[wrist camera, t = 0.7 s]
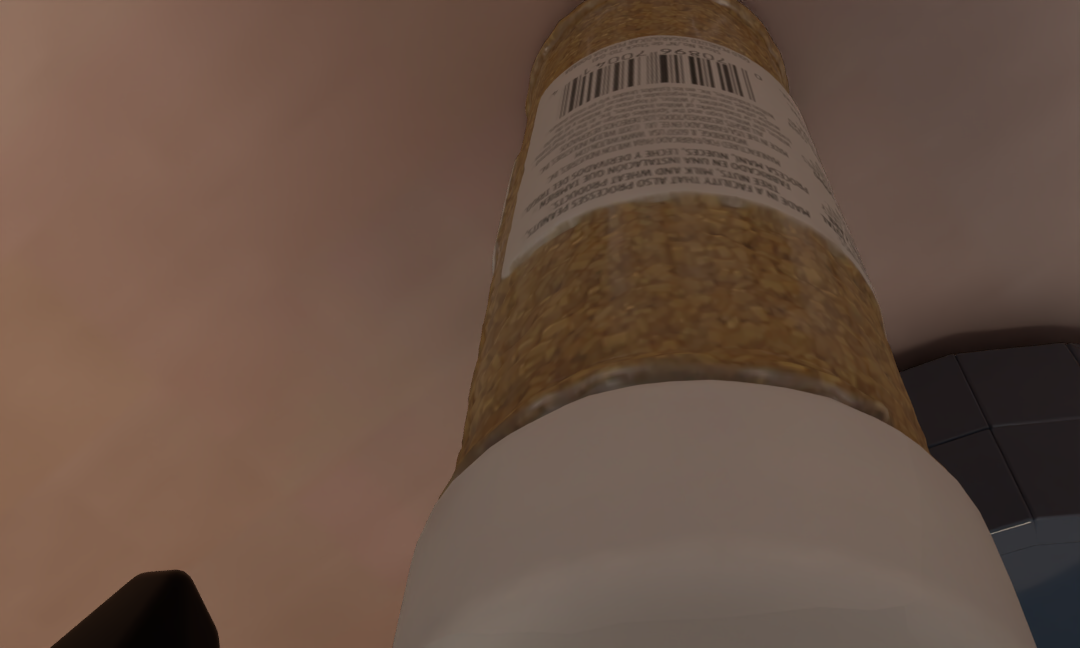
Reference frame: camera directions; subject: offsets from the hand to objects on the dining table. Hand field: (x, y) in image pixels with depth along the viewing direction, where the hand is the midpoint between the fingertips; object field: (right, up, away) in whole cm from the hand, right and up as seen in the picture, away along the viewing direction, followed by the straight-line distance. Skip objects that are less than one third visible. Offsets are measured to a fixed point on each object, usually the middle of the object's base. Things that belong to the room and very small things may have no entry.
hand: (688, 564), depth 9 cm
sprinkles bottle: (+1, +6, +9) cm, 11 cm away
